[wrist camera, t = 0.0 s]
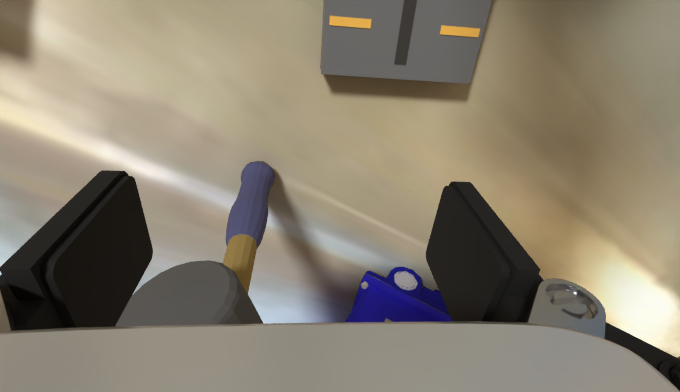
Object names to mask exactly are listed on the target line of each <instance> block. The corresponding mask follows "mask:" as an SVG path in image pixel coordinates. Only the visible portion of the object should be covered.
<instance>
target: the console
mask: <svg viewBox="0 0 680 392" xmlns="http://www.w3.org/2000/svg"><path fill="white" fill-rule="evenodd" d="M492 1H493V0H324V7H323V26H322V46H321V65H320V68H321V74H328V75H343V76H358V77H373V78H388V79H403V80H418V81H433V82H448V83H463V84H470V82H471V78H472V74H473V71H474V67H475V63H476V60H477V56H478V52H479V48H480V45H481V41H482V37H483V34H484V30H485V26H486V23H487V19H488V15H489V12H490V8H491V4H492Z"/></svg>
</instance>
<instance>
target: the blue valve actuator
mask: <svg viewBox="0 0 680 392" xmlns="http://www.w3.org/2000/svg"><path fill="white" fill-rule="evenodd" d="M422 285H423V284H422V281H421V278H420V277H419V276H418V275H417V274H416V273H415V272H414V271H413V270H411V269H408V268H405V267H396V268H394V269H393V270H391V272H390V273H389V275H388V277H387V278H384V277H382V276H380V275H377V274H375V273H373V272H371V271H367V272H366V273H365V275H364V277H363V279H362V281H361V284H360V287H359V290H358V293H357V296H356V299H355V302H354V305H353V308H352V311H351V313H350V315H349V317H348V318H347V320H346V322H453V321H452V319H451V317H450V314H449V312H448V310H447V307H446V305H445V303H444V300H443V298H442V296H441V293H440V291H438V290H434V291H431V290H429V289H427V288H425V287H423V288H422Z"/></svg>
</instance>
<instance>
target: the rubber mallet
mask: <svg viewBox="0 0 680 392" xmlns="http://www.w3.org/2000/svg"><path fill="white" fill-rule="evenodd" d="M274 178H275V176H274V172H273V169H272V168H271V167H270V166H269V165H268V164H267V163H265V162H263V161H256V162H250V163H249V164H247V165H246V166H245V168H244V169H243V171H242V174H241V182H242V184H241V188H240V191H239V194H238V197H237V199H236V201H235V203H234V204H233V206H232V208H231V211H230V214H229V218H228V224H227V231H226V244H227V250H226V253H225V257H224V261H223V264H222V263H219V262H214V261H195V262H188V263H185V264H181V265H178V266H175V267H172V268H170V269H168V270H166V271H164V272H162V273H160V274H158V275H157V276H155V277H154V278H152V279H151V280H149V281H148V282H146V283H145V284H144V285H143V286H142V287H141V288H140V289H138V290H137V291H136V292H135V293H134V294H133V295H132V296H131V298H130V300H129V302H128V304H127V305H126V307H125V309H124V311H123V313H122V315H121V316H120V318H119V320H118V322H117V324H116V326H115V327H119V326H167V325H215V324H263V322H262V320H261V318H260V316H259V314H258V312H257V311H256V309H255V307H254V305H253V303H252V301H251V299H250V298H249V296H248V290H249V285H250V280H251V275H252V270H253V265H254V260H255V254H256V249H257V248H258V246H259V245H260V243H261V240H262V238H263V234H264V231H265V228H266V223H267V217H268V204H267V201H268V195H269V190H270V188H271V186H272V185H273V183H274Z"/></svg>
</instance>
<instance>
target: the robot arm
mask: <svg viewBox="0 0 680 392" xmlns="http://www.w3.org/2000/svg"><path fill="white" fill-rule="evenodd" d="M152 254H153V249H152V244H151V240H150V236H149V233H148V229H147V225H146V221H145V217H144V213H143V209H142V205H141V201H140V197H139V193H138V189H137V185H136V182H135V179H134V178H133V177H132V176H128V174H127V173H126V172H125V171H101V172H99V173H98V174H97V175H96V176H95V177H94V178H93V179H92V180H91V181H90V182H89V183H88V184H87V185H86V186H85V187H83V188H82V189H81V190H80V191H79V192H78V193H77V194H76V195H75V196H74V197H73V198H72V199H71V200H70V201H69V202H68V203H67V204H66V205H65V206H64V207H63V208H62V209H60V210H59V211H58V212H57V213H56V214H55V215H54V216H53V217H52V218H51V219H50V220H49V221H48V222H47V223H46V224H45V225H44V226H43V227H42V228H41V229H40V230H39V231H37V232H36V233H35V234H34V235H33V236H32V237H31V238H30V239H29V240H28V241H27V242H26V243H25V244H24V245H23V246H22V247H21V248H20V249H19V250H18V251H17V252H16V253H14V254H13V255H12V256H11V257H10V258H9V259H8V260H7V261H6V262H5V263H4V264H3V265H2V266H1V267H0V271H1V273H2V275H1V276H0V392H680V359H678V358H676V357H674V356H672V355H670V354H668V353H666V352H664V351H662V350H660V349H658V348H656V347H654V346H652V345H650V344H648V343H646V342H644V341H642V340H640V339H638V338H636V337H634V336H632V335H630V334H628V333H626V332H624V331H622V330H620V329H618V328H616V327H614V326H612V325H610V324H608V323H606V314H605V309H604V307H603V306H602V304H601V303H600V301H599V300H598V299H597V298H596V297H595V296H594V295H593V294H591V293H590V292H589V291H587V290H586V289H584V288H583V287H581V286H579V285H577V284H575V283H572V282H569V281H566V280H563V279H556V278H553V279H546V280H543V279H542V278H541V276H540V275H539V274H538V273H539V271H540V268H539V267H538V266H537V265H536V263H535V262H534V261H533V260H532V258H531V257H530V256H529V255H528V253H527V252H526V251H525V250H524V248H523V247H522V246H521V245H520V243H519V242H518V241H517V240H516V238H515V237H514V236H513V235H512V233H511V232H510V231H509V230H508V228H507V227H506V226H505V225H504V223H503V222H502V221H501V220H500V218H499V217H498V216H497V215H496V213H495V212H494V211H493V210H492V208H491V207H490V206H489V205H488V203H487V202H486V201H485V200H484V198H483V197H482V196H481V195H480V193H479V192H478V191H477V190H476V188H475V187H474V186H473V185H472V184H471V183H470V182H451V183H450V184H449V186H445V187H444V189H443V192H442V195H441V199H440V203H439V206H438V210H437V214H436V217H435V221H434V224H433V228H432V232H431V235H430V239H429V243H428V246H427V250H426V259H427V263H428V265H429V267H430V270H431V272H432V274H433V277H434V279H435V281H436V284H437V286H438V288H439V291H440V293H441V296H442V298H443V300H444V303H445V305H446V307H447V310H448V312H449V314H450V317H451V319H452V321H453V322H342V323H274V324H215V325H167V326H119V327H115V326H116V324H117V322H118V320H119V318H120V316H121V315H122V313H123V311H124V309H125V307H126V305H127V304H128V302H129V300H130V298H131V296H132V294H133V292H134V291H135V289H136V287H137V285H138V283H139V281H140V280H141V278H142V276H143V274H144V272H145V270H146V268H147V267H148V265H149V263H150V261H151V259H152Z"/></svg>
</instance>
